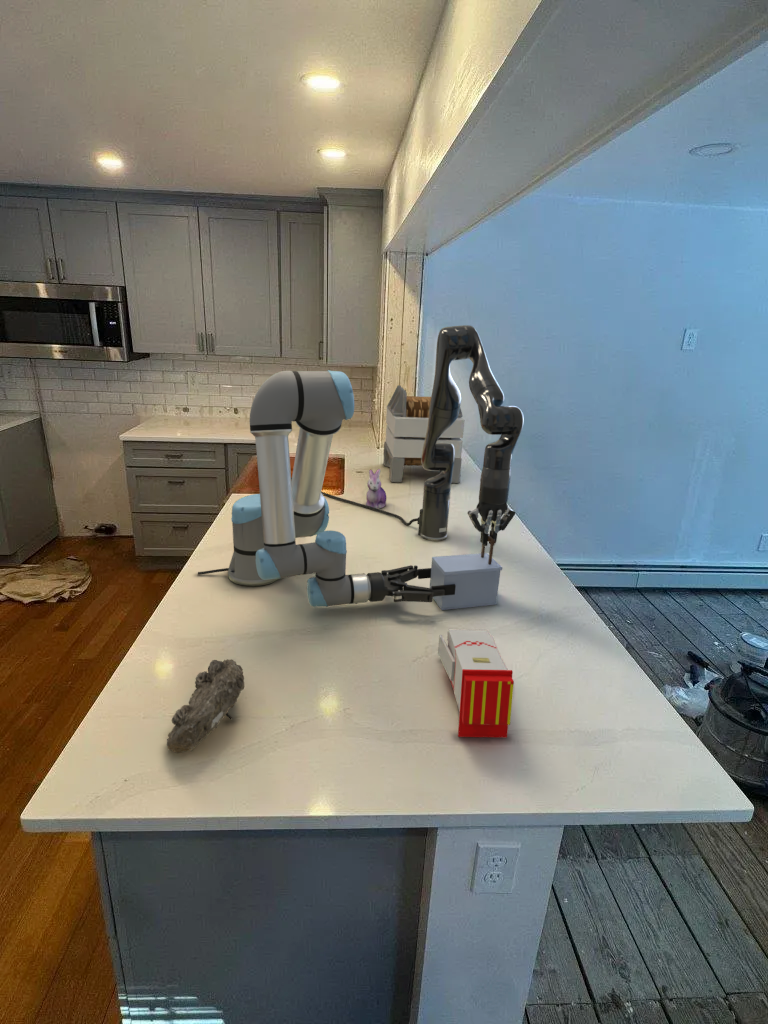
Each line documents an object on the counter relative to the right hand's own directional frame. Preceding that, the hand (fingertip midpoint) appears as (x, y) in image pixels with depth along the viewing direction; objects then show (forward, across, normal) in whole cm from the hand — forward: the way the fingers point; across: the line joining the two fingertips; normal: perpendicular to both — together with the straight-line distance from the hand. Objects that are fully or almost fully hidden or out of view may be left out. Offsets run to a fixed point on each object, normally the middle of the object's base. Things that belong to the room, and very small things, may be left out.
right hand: (487, 544), depth 153 cm
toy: (+16, -20, -38) cm, 46 cm away
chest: (+16, -6, 0) cm, 17 cm away
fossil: (+16, -72, -35) cm, 81 cm away
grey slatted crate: (+16, +23, +122) cm, 126 cm away
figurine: (+16, -10, +79) cm, 81 cm away
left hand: (+10, -11, 0) cm, 15 cm away
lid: (+6, -6, 0) cm, 8 cm away
